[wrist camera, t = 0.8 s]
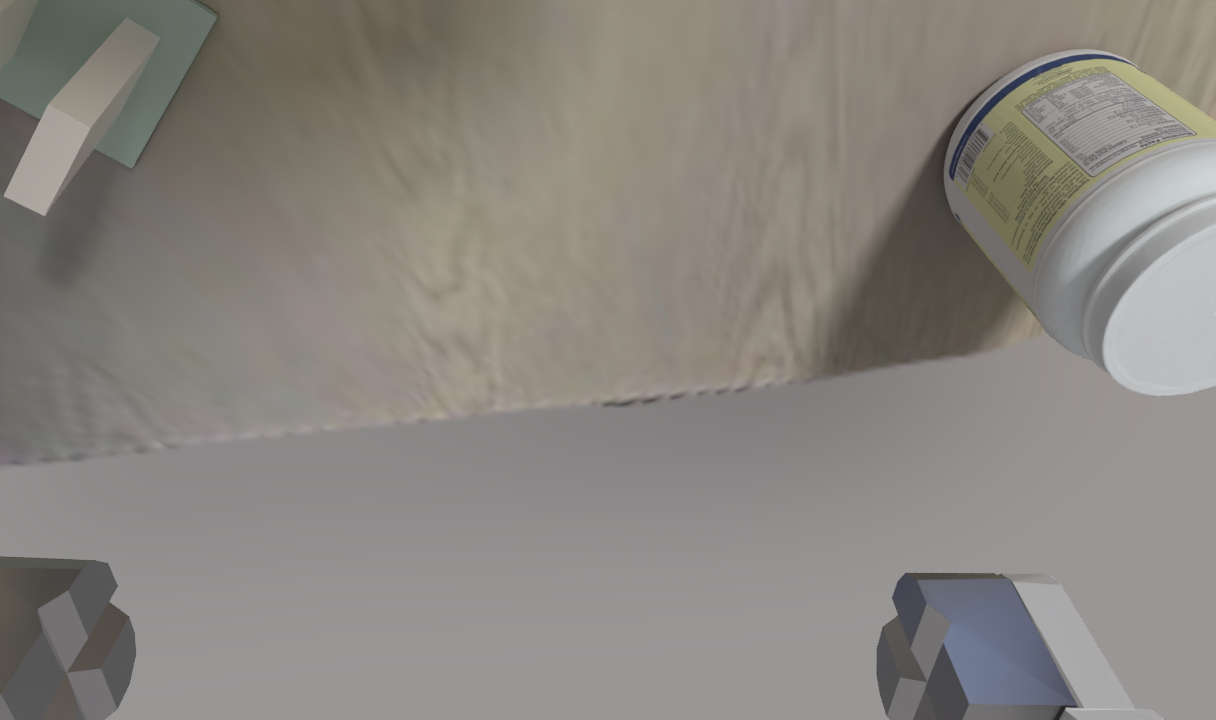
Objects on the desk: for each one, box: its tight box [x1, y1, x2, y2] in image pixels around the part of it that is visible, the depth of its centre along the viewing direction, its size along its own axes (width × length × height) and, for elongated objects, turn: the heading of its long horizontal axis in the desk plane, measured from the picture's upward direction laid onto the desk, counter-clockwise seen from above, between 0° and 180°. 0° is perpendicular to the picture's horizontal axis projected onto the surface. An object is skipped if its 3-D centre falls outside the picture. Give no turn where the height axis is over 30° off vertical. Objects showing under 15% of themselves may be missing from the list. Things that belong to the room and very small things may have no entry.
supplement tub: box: [944, 49, 1216, 396], centre depth 46 cm, size 12×12×17 cm
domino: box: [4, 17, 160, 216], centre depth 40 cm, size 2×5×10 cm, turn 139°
